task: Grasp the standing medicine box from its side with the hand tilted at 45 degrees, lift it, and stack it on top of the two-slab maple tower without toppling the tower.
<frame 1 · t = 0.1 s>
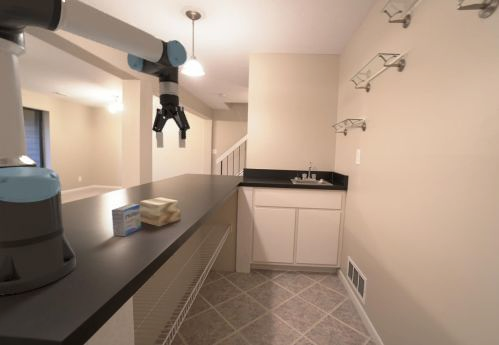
hand: (170, 147, 96), 28 cm above the countertop, tool pointing down, fingers open, 13 cm apart
tower bottom slab: (160, 221, 90), on the countertop, touching tower top slab
tower top slab: (159, 211, 90), point 3 cm above the countertop, touching tower bottom slab
medicine box: (127, 232, 77), on the countertop
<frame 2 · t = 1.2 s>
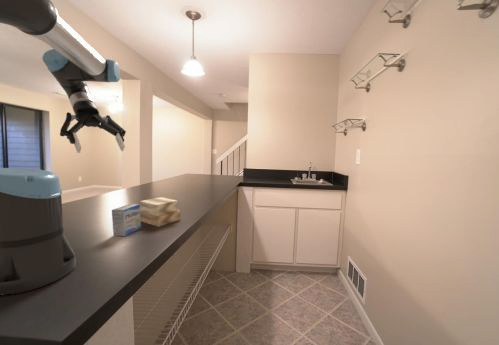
hand: (102, 149, 81), 27 cm above the countertop, tool tilted 40°, fingers open, 13 cm apart
nothing on the countertop moved.
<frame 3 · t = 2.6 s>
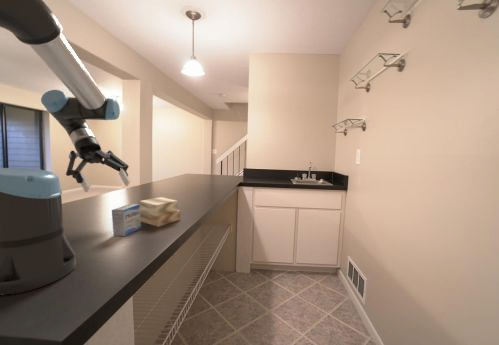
hand: (109, 186, 81), 14 cm above the countertop, tool tilted 45°, fingers open, 13 cm apart
nothing on the countertop moved.
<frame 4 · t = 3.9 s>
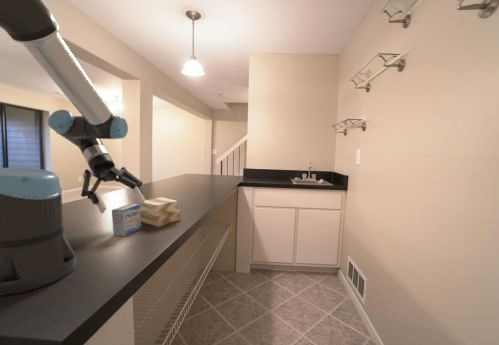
hand: (124, 206, 79), 8 cm above the countertop, tool tilted 45°, fingers open, 13 cm apart
nothing on the countertop moved.
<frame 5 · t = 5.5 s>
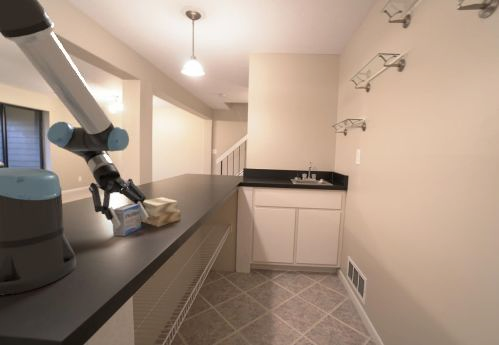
hand: (132, 222, 75), 4 cm above the countertop, tool tilted 45°, fingers closed on medicine box, 9 cm apart
medicine box: (127, 232, 77), on the countertop, touching gripper
everything else where it was.
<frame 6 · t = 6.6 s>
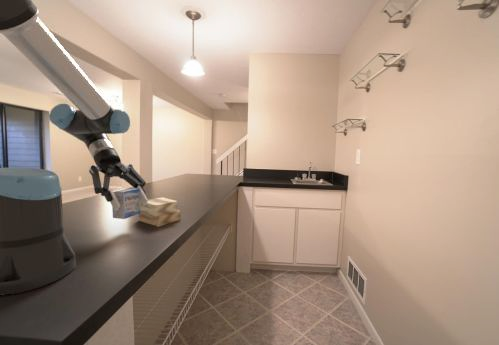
hand: (132, 205, 75), 9 cm above the countertop, tool tilted 45°, fingers closed on medicine box, 9 cm apart
medicine box: (127, 216, 77), point 5 cm above the countertop, touching gripper
everything else where it was.
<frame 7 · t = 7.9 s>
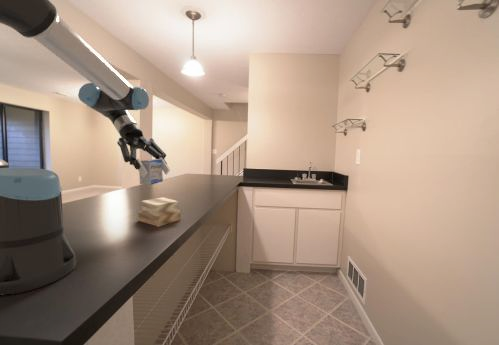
hand: (157, 173, 84), 19 cm above the countertop, tool tilted 45°, fingers closed on medicine box, 9 cm apart
medicine box: (151, 183, 86), point 15 cm above the countertop, touching gripper
everything else where it was.
when the fingers open (13 cm above the countertop, at t = 9.6 s): medicine box drops 2 cm, resting on tower top slab.
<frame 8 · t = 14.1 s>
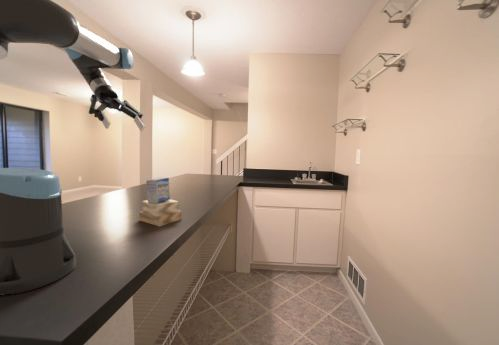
hand: (126, 127, 90), 36 cm above the countertop, tool tilted 45°, fingers open, 13 cm apart
tower bottom slab: (160, 221, 90), on the countertop
tower top slab: (160, 211, 90), point 3 cm above the countertop, touching medicine box
medicine box: (159, 201, 90), point 7 cm above the countertop, touching tower top slab
at the end: medicine box inside the target area on the tower top slab (0.6 cm from its centre), point 3.8 cm above the tower top slab's base; medicine box tilted 0°; tower top slab moved 0.9 cm from its start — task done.
